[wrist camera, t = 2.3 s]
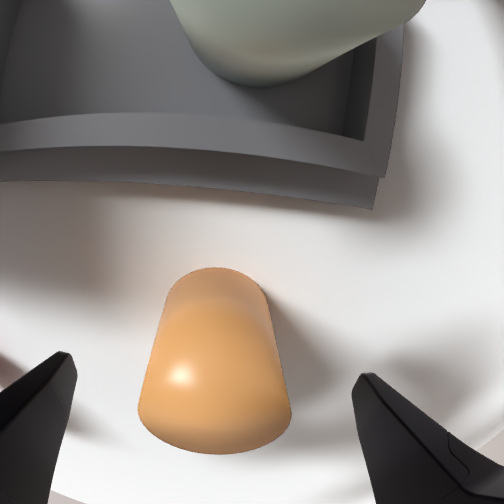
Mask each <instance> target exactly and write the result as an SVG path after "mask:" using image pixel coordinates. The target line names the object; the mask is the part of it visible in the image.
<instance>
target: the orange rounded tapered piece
mask: <svg viewBox="0 0 504 504" xmlns="http://www.w3.org/2000/svg"><path fill="white" fill-rule="evenodd" d="M138 415H139V417H140V420H141V422H142V423H143V425H144V426H145V427H146V428H147V430H148V431H150V432H151V433H152V434H153V435H154V436H156V437H157V438H159V439H160V440H162V441H164V442H166V443H168V444H170V445H172V446H175V447H177V448H180V449H183V450H187V451H191V452H196V453H203V454H220V455H221V454H235V453H241V452H246V451H250V450H254V449H257V448H260V447H262V446H264V445H266V444H268V443H270V442H272V441H274V440H275V439H276V438H278V437H279V436H280V435H281V434H282V433H283V432H284V431H285V430H286V429H287V427H288V425H289V424H290V421H291V409H290V404H289V399H288V395H287V390H286V385H285V381H284V376H283V372H282V367H281V362H280V358H279V353H278V349H277V344H276V339H275V335H274V330H273V326H272V321H271V317H270V312H269V308H268V303H267V299H266V297H265V295H264V293H263V291H262V290H261V288H260V287H259V286H258V285H257V284H256V283H255V282H254V281H253V280H252V279H250V278H249V277H248V276H246V275H244V274H242V273H240V272H237V271H234V270H231V269H226V268H204V269H200V270H196V271H193V272H191V273H189V274H187V275H185V276H184V277H182V278H181V279H180V280H178V281H177V282H176V283H175V284H174V286H173V287H172V288H171V290H170V292H169V294H168V296H167V299H166V302H165V305H164V309H163V312H162V316H161V319H160V322H159V326H158V329H157V333H156V337H155V340H154V344H153V347H152V351H151V355H150V359H149V363H148V366H147V370H146V374H145V378H144V382H143V386H142V390H141V395H140V399H139V403H138Z"/></svg>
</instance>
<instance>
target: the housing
mask: <svg viewBox="0 0 504 504" xmlns="http://www.w3.org/2000/svg"><path fill="white" fill-rule="evenodd" d="M425 1H426V0H0V182H1V181H104V182H129V183H148V184H164V185H178V186H191V187H203V188H214V189H225V190H235V191H244V192H253V193H262V194H270V195H278V196H286V197H294V198H301V199H308V200H315V201H322V202H329V203H335V204H342V205H348V206H354V207H360V208H366V209H372V208H373V204H374V200H375V196H376V191H377V187H378V182H379V177H381V178H385V174H386V169H387V164H388V159H389V154H390V148H391V143H392V137H393V131H394V124H395V118H396V111H397V103H398V95H399V87H400V77H401V66H402V53H403V36H404V23H405V22H407V21H409V20H410V19H411V18H412V17H413V16H414V15H416V14H417V13H418V12H419V10H420V9H421V8H422V6H423V5H424V3H425Z"/></svg>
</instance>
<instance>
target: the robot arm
mask: <svg viewBox="0 0 504 504" xmlns="http://www.w3.org/2000/svg"><path fill="white" fill-rule="evenodd" d="M76 381H77V370H76V367H75V364H74V361H73V358H72V356H71V354H69V353H66V352H62V351H58V352H56V353H55V354H54V355H52V356H51V357H49V358H48V359H46V360H45V361H44V362H42V363H41V364H39V365H38V366H36V367H35V368H34V369H32V370H31V371H29V372H28V373H26V374H25V375H24V376H22V377H21V378H19V379H18V380H17V381H15V382H14V383H12V384H11V385H10V386H8V387H7V388H6V389H4V390H3V391H1V392H0V504H47V503H48V498H49V493H50V488H51V483H52V479H53V474H54V470H55V466H56V462H57V458H58V454H59V450H60V447H61V443H62V439H63V436H64V433H65V429H66V426H67V422H68V419H69V414H70V410H71V405H72V400H73V395H74V390H75V386H76ZM352 401H353V407H354V413H355V419H356V425H357V431H358V436H359V440H360V443H361V447H362V451H363V454H364V458H365V462H366V465H367V469H368V473H369V477H370V481H371V485H372V489H373V493H374V497H375V501H376V504H504V466H502V465H499V464H497V463H495V462H494V461H492V460H490V459H489V458H487V457H485V456H484V455H482V454H480V453H479V452H477V451H475V450H474V449H472V448H471V447H469V446H468V445H466V444H465V443H463V442H462V441H460V440H459V439H458V438H456V437H455V436H454V435H452V434H451V433H450V432H447V430H446V429H444V428H443V427H442V426H441V425H439V424H438V423H437V422H435V421H434V420H433V419H431V418H430V417H429V416H428V415H426V414H425V413H424V412H422V411H421V410H420V409H419V408H417V407H416V406H415V405H414V404H412V403H411V402H410V401H408V400H407V399H406V398H405V397H403V396H402V395H401V394H400V393H398V392H397V391H396V390H395V389H393V388H392V387H391V386H389V385H388V384H387V383H386V382H384V381H383V380H382V379H381V378H379V377H378V376H377V375H376V374H374V373H362V374H361V375H360V376H359V378H358V380H357V382H356V383H355V385H354V387H353V389H352Z"/></svg>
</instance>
